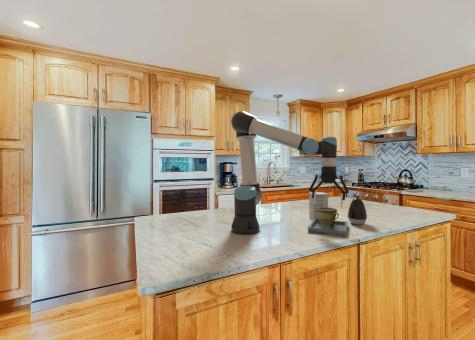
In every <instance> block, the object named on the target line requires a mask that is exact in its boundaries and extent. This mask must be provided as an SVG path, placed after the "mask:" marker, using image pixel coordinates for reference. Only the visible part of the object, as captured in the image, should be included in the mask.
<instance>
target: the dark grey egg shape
mask: <svg viewBox="0 0 475 340" xmlns="http://www.w3.org/2000/svg"><path fill="white" fill-rule="evenodd" d="M367 213H368V212H367V210H366V206H365V203H364V201H363V199H361V198H360V197H355V198H353V199H352V200H351V202H350V203H349V208H348V211H347V218H348V221H349V223H351V225H352V224H353V225H359V226H362V225H363V224H365V223H366V222H367V219H368V214H367Z"/></svg>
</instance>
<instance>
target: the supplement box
mask: <svg viewBox="0 0 475 340" xmlns="http://www.w3.org/2000/svg"><path fill="white" fill-rule="evenodd" d="M315 192H316V204H314V198H312V192H311V191H309V193H308V194H309V195H308V196H309V197H308V198H309V199H308V200H309V205H308V206H309V207H308V210H309V211H308V217H309V219H310V220H311V221H313V220H314V219H320V218H319V214H318V208H321V207H329V194H328V193H326V192H323V191H321V192H318V191H315Z"/></svg>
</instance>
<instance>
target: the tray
mask: <svg viewBox="0 0 475 340" xmlns="http://www.w3.org/2000/svg"><path fill="white" fill-rule="evenodd" d="M347 231H348V221H345V220H344V221H342V220H335V222H334V228H332V229H326V228H322V227H321V224H320V219H314V220H311V223H310V225H308V227H307V232H308V233H312V234H318V235H319V234H321V235H328V236H337V237H347Z"/></svg>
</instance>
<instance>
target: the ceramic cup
mask: <svg viewBox="0 0 475 340" xmlns="http://www.w3.org/2000/svg"><path fill="white" fill-rule="evenodd" d="M318 214H319V218H320V224H321V227H322V228H326V229H332V228H334V222H335V221H337V219H338V218H339V212H338V209H337V208H334V207H329V206H328V207H321V208H318Z"/></svg>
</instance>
